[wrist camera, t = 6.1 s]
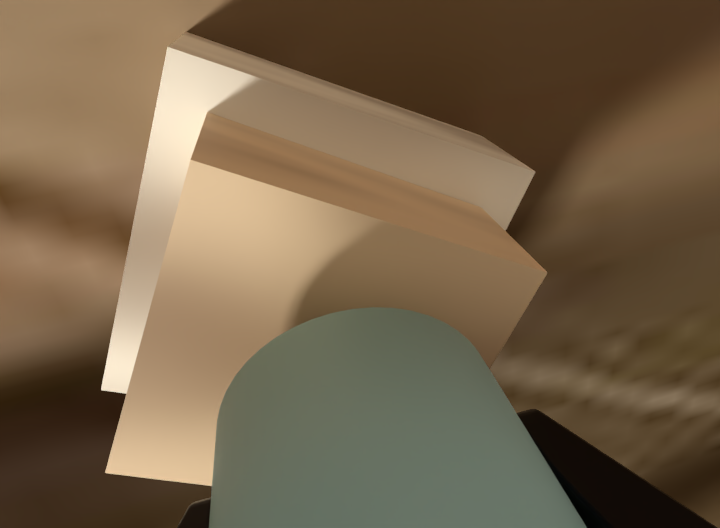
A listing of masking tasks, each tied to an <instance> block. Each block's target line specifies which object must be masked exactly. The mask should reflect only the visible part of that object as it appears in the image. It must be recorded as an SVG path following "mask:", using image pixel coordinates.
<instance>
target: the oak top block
mask: <svg viewBox="0 0 720 528" xmlns="http://www.w3.org/2000/svg"><path fill="white" fill-rule="evenodd" d="M546 275H547V272H546V271H545V270H544V269H543V268H542V267H541V266H540V265H539V264H538V263H537V262H536V261H535V260H534V259H533V258H532V257H531V256H530V255H529V254H528V253H527V252H526V251H525V250H524V249H523V248H522V247H521V246H520V245H519V244H518V243H517V242H516V241H515V240H514V239H513V238H512V237H511V236H510V235H509V234H508V233H507V232H506V231H505V230H504V229H503V228H502V227H501V226H500V225H499V224H498V223H497V222H496V221H495V220H494V219H493V218H492V217H491V216H490V215H489V214H488V213H487V212H486V211H484V210H483V209H482V208H481V207H479V206H476V205H473V204H470V203H467V202H464V201H461V200H459V199H456V198H453V197H450V196H447V195H444V194H441V193H438V192H436V191H433V190H430V189H427V188H424V187H421V186H418V185H415V184H413V183H410V182H407V181H404V180H401V179H398V178H395V177H393V176H390V175H387V174H384V173H381V172H378V171H375V170H372V169H370V168H367V167H364V166H361V165H358V164H355V163H352V162H350V161H347V160H344V159H341V158H338V157H335V156H332V155H329V154H327V153H324V152H321V151H318V150H315V149H312V148H309V147H306V146H304V145H301V144H298V143H295V142H292V141H289V140H286V139H284V138H281V137H278V136H275V135H272V134H269V133H266V132H263V131H261V130H258V129H255V128H252V127H249V126H246V125H243V124H241V123H238V122H235V121H232V120H229V119H226V118H223V117H220V116H218V115H215V114H212V113H209V112H207V114H206V117H205V120H204V123H203V126H202V128H201V131H200V134H199V137H198V140H197V142H196V145H195V148H194V151H193V154H192V157H191V159H190V163H189V167H188V170H187V174H186V178H185V181H184V185H183V189H182V192H181V196H180V200H179V203H178V207H177V211H176V214H175V218H174V222H173V225H172V229H171V233H170V236H169V240H168V244H167V247H166V251H165V255H164V258H163V262H162V266H161V269H160V273H159V277H158V280H157V284H156V288H155V291H154V295H153V299H152V302H151V306H150V310H149V313H148V317H147V321H146V324H145V328H144V332H143V335H142V339H141V343H140V346H139V350H138V354H137V357H136V361H135V365H134V368H133V372H132V376H131V379H130V383H129V387H128V390H127V394H126V398H125V401H124V405H123V409H122V412H121V416H120V420H119V423H118V427H117V431H116V434H115V438H114V442H113V445H112V449H111V453H110V456H109V460H108V464H107V467H106V471H105V473H110V474H118V475H126V476H134V477H142V478H151V479H159V480H167V481H175V482H183V483H192V484H200V485H208V486H212V479H213V466H214V453H215V440H216V427H217V419H218V414H219V409H220V405H221V403H222V400H223V398H224V395H225V393H226V391H227V389H228V387H229V385H230V384H231V382H232V380H233V379H234V377H235V376H236V374H237V373H238V372H239V371H240V369H241V368H242V367H243V366H244V364H245V363H246V362H247V361H248V360H249V359H250V358H251V357H252V356H253V355H254V354H255V353H256V352H257V351H259V350H260V349H261V348H262V347H264V346H265V345H266V344H268V343H269V342H270V341H272V340H273V339H274V338H276V337H277V336H279V335H281V334H283V333H284V332H286V331H288V330H290V329H291V328H293V327H295V326H298V325H300V324H302V323H304V322H307V321H309V320H311V319H314V318H317V317H321V316H324V315H327V314H330V313H334V312H339V311H344V310H349V309H357V308H369V307H384V308H397V309H404V310H411V311H415V312H418V313H422V314H425V315H429V316H431V317H433V318H436V319H438V320H440V321H443V322H445V323H446V324H448V325H450V326H451V327H453V328H454V329H456V330H458V331H459V332H460V333H461V334H462V335H463V336H465V337H466V338H467V339H468V340H469V341H470V342H471V343H472V344H473V346H474V347H475V348H476V349H477V350H478V352H479V353H480V355H481V357H482V358H483V360H484V361H485V363H486V365H487V366H488V368H489V369H490V368H491V366H492V364H493V363H494V361H495V359H496V358H497V356H498V354H499V353H500V351H501V349H502V348H503V346H504V344H505V343H506V341H507V339H508V338H509V336H510V334H511V333H512V331H513V329H514V328H515V326H516V324H517V323H518V321H519V319H520V318H521V316H522V314H523V313H524V311H525V309H526V308H527V306H528V304H529V303H530V301H531V299H532V298H533V296H534V294H535V293H536V291H537V289H538V288H539V286H540V284H541V283H542V281H543V279H544V278H545V276H546Z"/></svg>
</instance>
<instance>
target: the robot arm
mask: <svg viewBox="0 0 720 528" xmlns="http://www.w3.org/2000/svg"><path fill="white" fill-rule="evenodd" d="M517 415H518V417H519V418H520V420H521V421H522V423H523V425H524V426H525V428H526V430H527V431H528V433H529V434H530V436H531V438H532V439H533V441H534V443H535V444H536V446H537V447H538V449H539V451H540V452H541V454H542V456H543V457H544V459H545V460H546V462H547V464H548V465H549V467H550V468H551V470H552V472H553V473H554V475H555V477H556V478H557V480H558V481H559V483H560V485H561V486H562V488H563V490H564V491H565V493H566V494H567V496H568V498H569V499H570V501H571V503H572V504H573V506H574V507H575V509H576V511H577V512H578V514H579V516H580V517H581V519H582V520H583V522H584V524H585V525H586V527H587V528H717V527H716V526H714V525H712V524H711V523H709V522H708V521H706V520H705V519H703V518H702V517H700V516H699V515H697V514H696V513H694V512H693V511H691V510H690V509H688V508H687V507H685V506H684V505H682V504H681V503H679V502H677V501H676V500H674V499H673V498H671V497H670V496H668V495H667V494H665V493H664V492H662V491H661V490H659V489H658V488H656V487H655V486H653V485H652V484H650V483H649V482H647V481H646V480H644V479H642V478H641V477H639V476H638V475H636V474H635V473H633V472H632V471H630V470H629V469H627V468H626V467H624V466H623V465H621V464H620V463H618V462H617V461H615V460H614V459H612V458H611V457H609V456H607V455H606V454H604V453H603V452H601V451H600V450H598V449H597V448H595V447H594V446H592V445H591V444H589V443H588V442H586V441H585V440H583V439H582V438H580V437H579V436H577V435H576V434H574V433H572V432H571V431H569V430H568V429H566V428H565V427H563V426H562V425H560V424H559V423H557V422H556V421H554V420H553V419H551V418H550V417H548V416H547V415H545V414H544V413H542V412H541V411H539V410H536V409H530V410H526V411H523V412H519V413H517ZM210 505H211V498H207V499H203V500H200V501H196V502H194V503H192V504H191V505H190V506H189V507H188V509H187V510H186V512H185V514H184V516H183V518H182V519H181V521H180V523H179V525H178V527H177V528H209V518H210Z"/></svg>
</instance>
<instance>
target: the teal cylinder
mask: <svg viewBox="0 0 720 528" xmlns="http://www.w3.org/2000/svg"><path fill="white" fill-rule="evenodd" d="M209 528H587V527H586V525H585V524H584V522H583V520H582V519H581V517H580V516H579V514H578V512H577V511H576V509H575V507H574V506H573V504H572V503H571V501H570V499H569V498H568V496H567V494H566V493H565V491H564V490H563V488H562V486H561V485H560V483H559V481H558V480H557V478H556V477H555V475H554V473H553V472H552V470H551V468H550V467H549V465H548V464H547V462H546V460H545V459H544V457H543V456H542V454H541V452H540V451H539V449H538V447H537V446H536V444H535V443H534V441H533V439H532V438H531V436H530V434H529V433H528V431H527V430H526V428H525V426H524V425H523V423H522V421H521V420H520V418H519V417H518V415H517V413H516V412H515V410H514V408H513V407H512V405H511V404H510V402H509V400H508V399H507V397H506V395H505V394H504V392H503V391H502V389H501V387H500V386H499V384H498V383H497V381H496V379H495V378H494V376H493V374H492V373H491V371H490V370H489V368H488V366H487V365H486V363H485V361H484V360H483V358H482V357H481V355H480V353H479V352H478V350H477V349H476V348H475V347H474V346H473V344H472V343H471V342H470V341H469V340H468V339H467V338H466V337H465V336H463V335H462V334H461V333H460V332H459V331H458V330H456V329H454V328H453V327H451V326H450V325H448V324H446V323H445V322H443V321H440V320H438V319H436V318H433V317H431V316H429V315H425V314H422V313H418V312H415V311H411V310H404V309H397V308H384V307H369V308H357V309H349V310H344V311H339V312H334V313H330V314H327V315H324V316H321V317H317V318H314V319H311V320H309V321H307V322H304V323H302V324H300V325H298V326H295V327H293V328H291V329H290V330H288V331H286V332H284V333H283V334H281V335H279V336H277V337H276V338H274V339H273V340H272V341H270V342H269V343H268V344H266V345H265V346H264V347H262V348H261V349H260V350H259V351H257V352H256V353H255V354H254V355H253V356H252V357H251V358H250V359H249V360H248V361H247V362H246V363H245V364H244V366H243V367H242V368H241V369H240V371H239V372H238V373H237V374H236V376H235V377H234V379H233V380H232V382H231V384H230V385H229V387H228V389H227V391H226V393H225V395H224V398H223V400H222V403H221V405H220V409H219V414H218V419H217V427H216V440H215V453H214V466H213V479H212V492H211V505H210V518H209Z"/></svg>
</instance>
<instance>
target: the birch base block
mask: <svg viewBox="0 0 720 528" xmlns="http://www.w3.org/2000/svg"><path fill="white" fill-rule="evenodd" d="M207 112H209V113H212V114H215V115H218V116H220V117H223V118H226V119H229V120H232V121H235V122H238V123H241V124H243V125H246V126H249V127H252V128H255V129H258V130H261V131H263V132H266V133H269V134H272V135H275V136H278V137H281V138H284V139H286V140H289V141H292V142H295V143H298V144H301V145H304V146H306V147H309V148H312V149H315V150H318V151H321V152H324V153H327V154H329V155H332V156H335V157H338V158H341V159H344V160H347V161H350V162H352V163H355V164H358V165H361V166H364V167H367V168H370V169H372V170H375V171H378V172H381V173H384V174H387V175H390V176H393V177H395V178H398V179H401V180H404V181H407V182H410V183H413V184H415V185H418V186H421V187H424V188H427V189H430V190H433V191H436V192H438V193H441V194H444V195H447V196H450V197H453V198H456V199H459V200H461V201H464V202H467V203H470V204H473V205H476V206H479V207H481V208H482V209H483V210H484V211H486V212H487V213H488V214H489V215H490V216H491V217H492V218H493V219H494V220H495V221H496V222H497V223H498V224H499V225H500V226H501V227H502V228H503V229H504V230H505V231H506V229H507V227H508V225H509V223H510V221H511V219H512V217H513V215H514V213H515V211H516V209H517V207H518V206H519V204H520V202H521V200H522V198H523V196H524V194H525V192H526V190H527V188H528V186H529V184H530V182H531V180H532V178H533V176H534V174H535V171H534V170H532V169H531V168H529V167H528V166H526V165H525V164H523V163H522V162H520V161H519V160H517V159H516V158H514V157H513V156H511V155H510V154H508V153H507V152H505V151H504V150H502V149H501V148H499V147H498V146H496V145H495V144H493V143H492V142H490V141H489V140H487V139H486V138H484V137H483V136H481V135H478V134H475V133H472V132H470V131H467V130H464V129H461V128H458V127H455V126H453V125H450V124H447V123H444V122H441V121H438V120H436V119H433V118H430V117H427V116H424V115H421V114H418V113H416V112H413V111H410V110H407V109H404V108H401V107H399V106H396V105H393V104H390V103H387V102H384V101H382V100H379V99H376V98H373V97H370V96H367V95H364V94H362V93H359V92H356V91H353V90H350V89H347V88H345V87H342V86H339V85H336V84H333V83H330V82H328V81H325V80H322V79H319V78H316V77H313V76H310V75H308V74H305V73H302V72H299V71H296V70H293V69H291V68H288V67H285V66H282V65H279V64H276V63H274V62H271V61H268V60H265V59H262V58H259V57H256V56H254V55H251V54H248V53H245V52H242V51H239V50H237V49H234V48H231V47H228V46H225V45H222V44H220V43H217V42H214V41H211V40H208V39H205V38H202V37H200V36H197V35H194V34H191V33H188V32H185V33H184V34H183V35H182V36H180V37H179V38H178V39H177V40H175V41H174V42H173V43H172V44H170V45H169V46H168V47H167V52H166V58H165V63H164V68H163V73H162V78H161V83H160V88H159V94H158V99H157V104H156V109H155V114H154V119H153V125H152V130H151V135H150V140H149V145H148V150H147V155H146V161H145V166H144V171H143V176H142V181H141V186H140V192H139V197H138V202H137V207H136V212H135V217H134V222H133V228H132V233H131V238H130V243H129V248H128V253H127V259H126V264H125V269H124V274H123V279H122V284H121V289H120V295H119V300H118V305H117V310H116V315H115V320H114V326H113V331H112V336H111V341H110V346H109V351H108V356H107V362H106V367H105V372H104V377H103V382H102V387H101V390H105V391H112V392H119V393H126V394H127V390H128V387H129V383H130V379H131V376H132V372H133V368H134V365H135V361H136V357H137V354H138V350H139V346H140V343H141V339H142V335H143V332H144V328H145V324H146V321H147V317H148V313H149V310H150V306H151V302H152V299H153V295H154V291H155V288H156V284H157V280H158V277H159V273H160V269H161V266H162V262H163V258H164V255H165V251H166V247H167V244H168V240H169V236H170V233H171V229H172V225H173V222H174V218H175V214H176V211H177V207H178V203H179V200H180V196H181V192H182V189H183V185H184V181H185V178H186V174H187V170H188V167H189V163H190V159H191V157H192V154H193V151H194V148H195V145H196V142H197V140H198V137H199V134H200V131H201V128H202V126H203V123H204V120H205V117H206V114H207Z"/></svg>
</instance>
